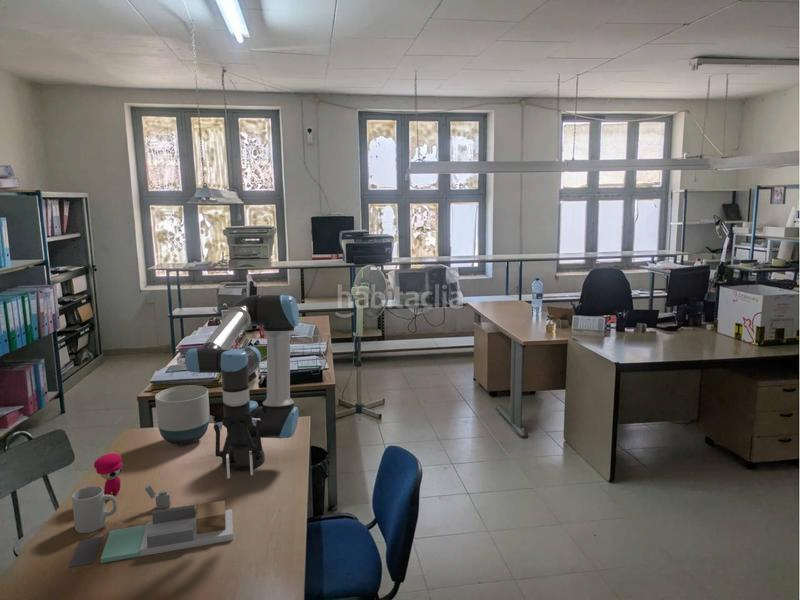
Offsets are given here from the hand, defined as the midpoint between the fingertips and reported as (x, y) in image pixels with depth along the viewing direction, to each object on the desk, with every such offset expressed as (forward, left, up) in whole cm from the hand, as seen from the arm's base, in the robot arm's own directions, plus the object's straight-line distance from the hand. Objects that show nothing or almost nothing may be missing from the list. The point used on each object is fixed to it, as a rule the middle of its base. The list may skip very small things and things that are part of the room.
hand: (240, 474), depth 165 cm
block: (+9, 0, -15) cm, 17 cm away
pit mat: (+43, 0, -17) cm, 46 cm away
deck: (+15, 0, -17) cm, 23 cm away
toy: (+42, -31, -17) cm, 55 cm away
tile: (+33, 0, -17) cm, 37 cm away
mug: (+43, -14, -17) cm, 48 cm away
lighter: (+26, -19, -17) cm, 36 cm away
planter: (+21, -70, -17) cm, 75 cm away
